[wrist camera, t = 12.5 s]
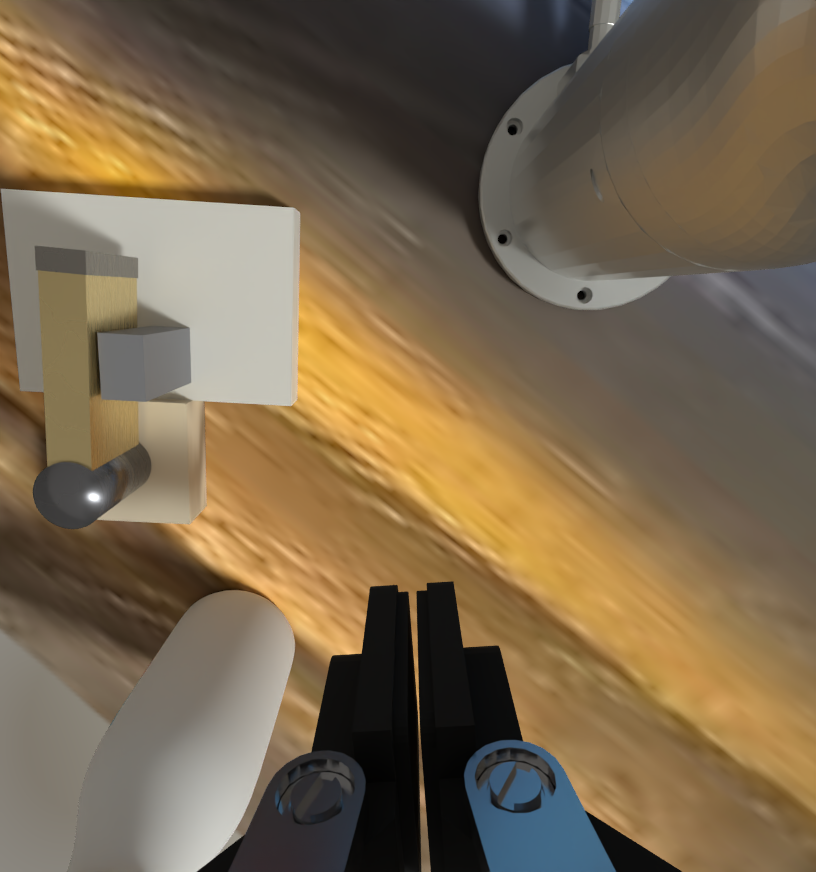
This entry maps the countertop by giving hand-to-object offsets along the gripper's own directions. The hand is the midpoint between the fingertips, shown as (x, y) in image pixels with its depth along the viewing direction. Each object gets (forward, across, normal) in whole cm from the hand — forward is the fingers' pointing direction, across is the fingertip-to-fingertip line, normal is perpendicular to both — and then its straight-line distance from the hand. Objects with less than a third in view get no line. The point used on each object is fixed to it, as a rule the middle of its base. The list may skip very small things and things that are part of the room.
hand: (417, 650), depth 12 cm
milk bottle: (+24, +12, +15) cm, 31 cm away
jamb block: (+24, +16, +2) cm, 29 cm away
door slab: (+24, +14, -7) cm, 28 cm away
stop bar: (+21, +15, -3) cm, 26 cm away
